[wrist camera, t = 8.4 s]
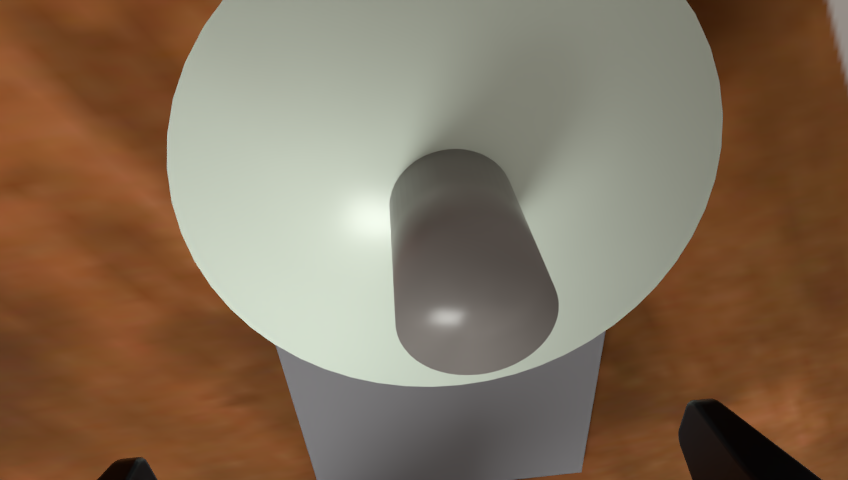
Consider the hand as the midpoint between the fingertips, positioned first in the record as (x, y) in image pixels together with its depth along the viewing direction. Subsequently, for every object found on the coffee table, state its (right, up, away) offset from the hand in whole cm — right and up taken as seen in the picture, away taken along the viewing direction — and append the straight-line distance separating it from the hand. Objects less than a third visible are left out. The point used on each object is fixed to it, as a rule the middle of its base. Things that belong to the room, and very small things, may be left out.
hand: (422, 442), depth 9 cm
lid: (+1, +5, +5) cm, 7 cm away
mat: (+1, -4, +17) cm, 18 cm away
